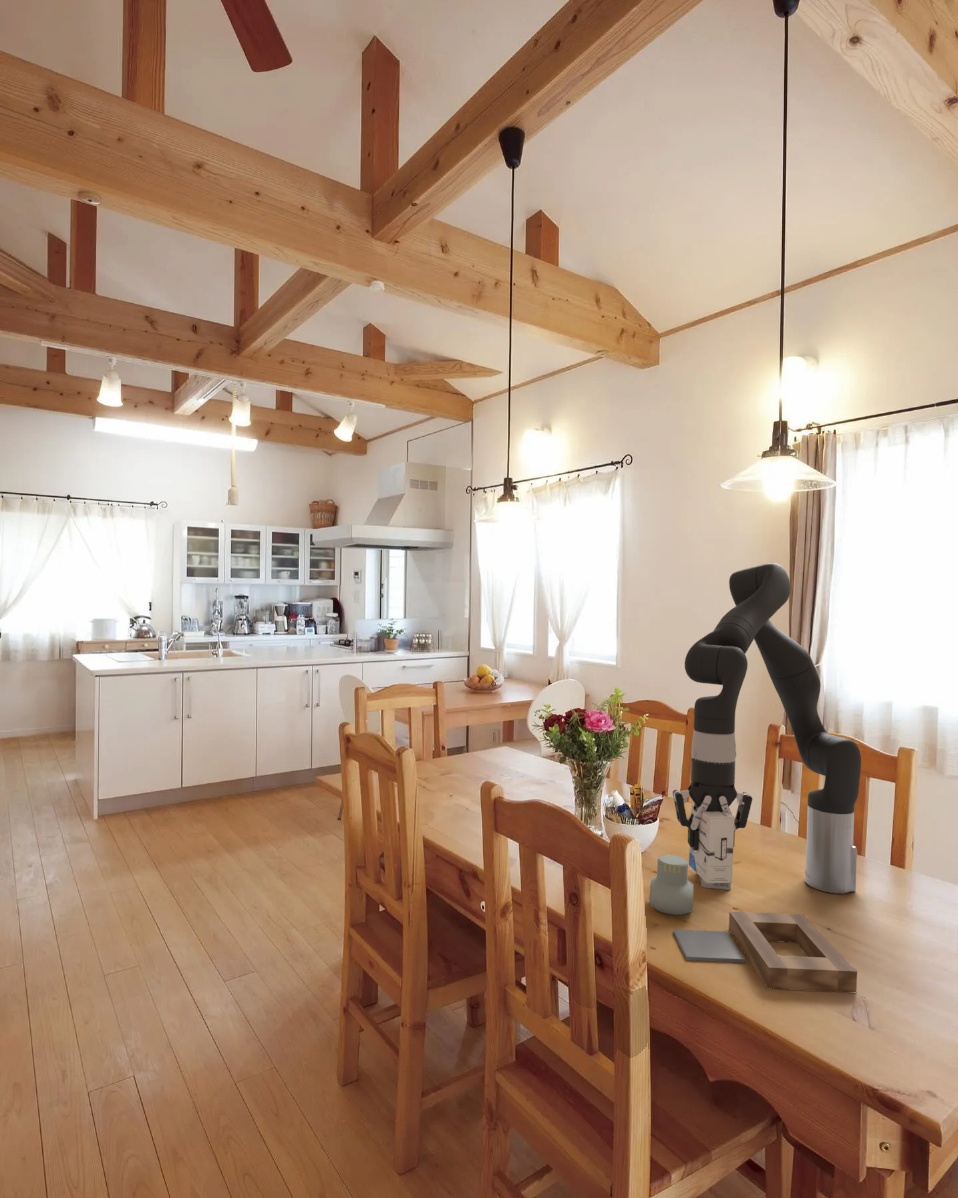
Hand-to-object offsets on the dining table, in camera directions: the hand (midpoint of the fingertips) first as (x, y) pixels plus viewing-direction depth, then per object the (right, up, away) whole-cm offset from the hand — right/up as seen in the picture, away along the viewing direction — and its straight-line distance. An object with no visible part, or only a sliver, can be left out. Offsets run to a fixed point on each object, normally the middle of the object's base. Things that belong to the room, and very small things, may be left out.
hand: (710, 849), depth 127 cm
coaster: (-1, -18, 0) cm, 18 cm away
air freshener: (-3, -18, +15) cm, 24 cm away
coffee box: (+11, -18, +30) cm, 36 cm away
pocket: (+12, -18, -3) cm, 22 cm away
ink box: (0, -5, 0) cm, 5 cm away
